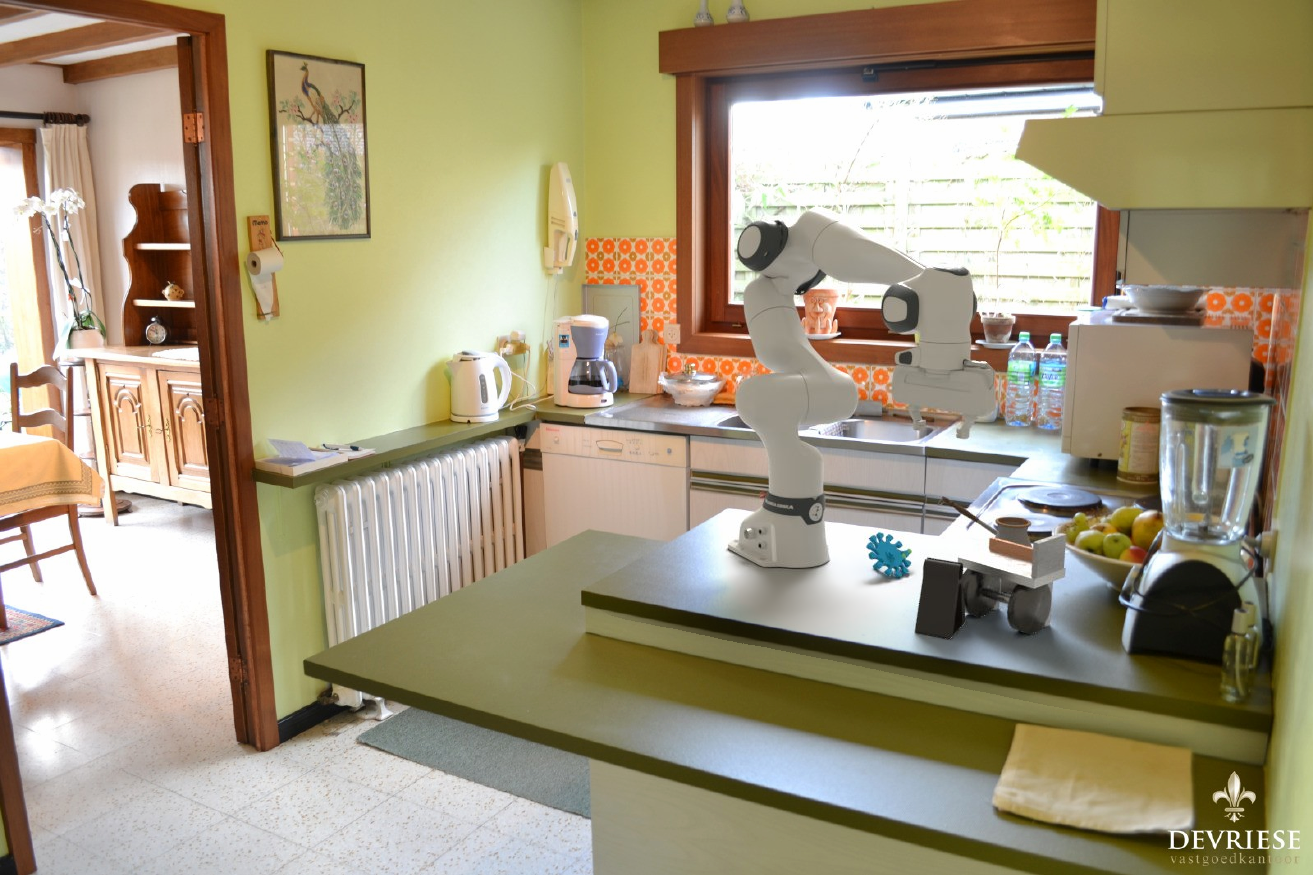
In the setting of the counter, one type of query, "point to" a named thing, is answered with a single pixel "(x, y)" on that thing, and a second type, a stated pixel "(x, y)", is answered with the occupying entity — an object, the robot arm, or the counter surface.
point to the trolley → (1015, 580)
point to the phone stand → (941, 599)
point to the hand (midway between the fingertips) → (940, 434)
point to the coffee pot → (1001, 533)
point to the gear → (888, 555)
